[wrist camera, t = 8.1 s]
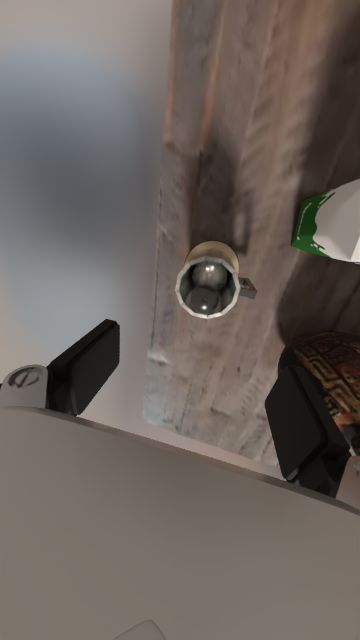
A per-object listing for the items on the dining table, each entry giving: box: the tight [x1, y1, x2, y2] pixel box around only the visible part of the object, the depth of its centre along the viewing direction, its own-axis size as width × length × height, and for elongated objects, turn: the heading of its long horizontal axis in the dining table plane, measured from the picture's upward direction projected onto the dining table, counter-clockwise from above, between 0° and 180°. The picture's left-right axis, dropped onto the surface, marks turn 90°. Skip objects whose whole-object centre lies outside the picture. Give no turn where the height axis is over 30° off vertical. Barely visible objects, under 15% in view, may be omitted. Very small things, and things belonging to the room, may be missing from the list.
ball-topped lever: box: [190, 260, 228, 314], centre depth 26 cm, size 6×6×15 cm
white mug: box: [175, 248, 257, 319], centre depth 31 cm, size 8×11×14 cm
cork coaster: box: [185, 241, 239, 276], centre depth 38 cm, size 11×11×1 cm
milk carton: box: [291, 179, 360, 264], centre depth 23 cm, size 9×9×20 cm
